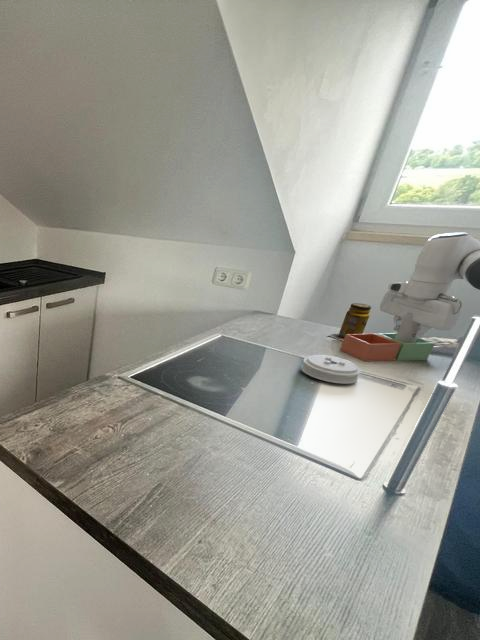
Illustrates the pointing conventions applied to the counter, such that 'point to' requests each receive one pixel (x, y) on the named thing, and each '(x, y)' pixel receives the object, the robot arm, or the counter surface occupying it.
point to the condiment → (354, 321)
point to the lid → (330, 369)
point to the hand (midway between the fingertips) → (406, 334)
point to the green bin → (411, 348)
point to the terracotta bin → (370, 347)
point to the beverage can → (407, 330)
